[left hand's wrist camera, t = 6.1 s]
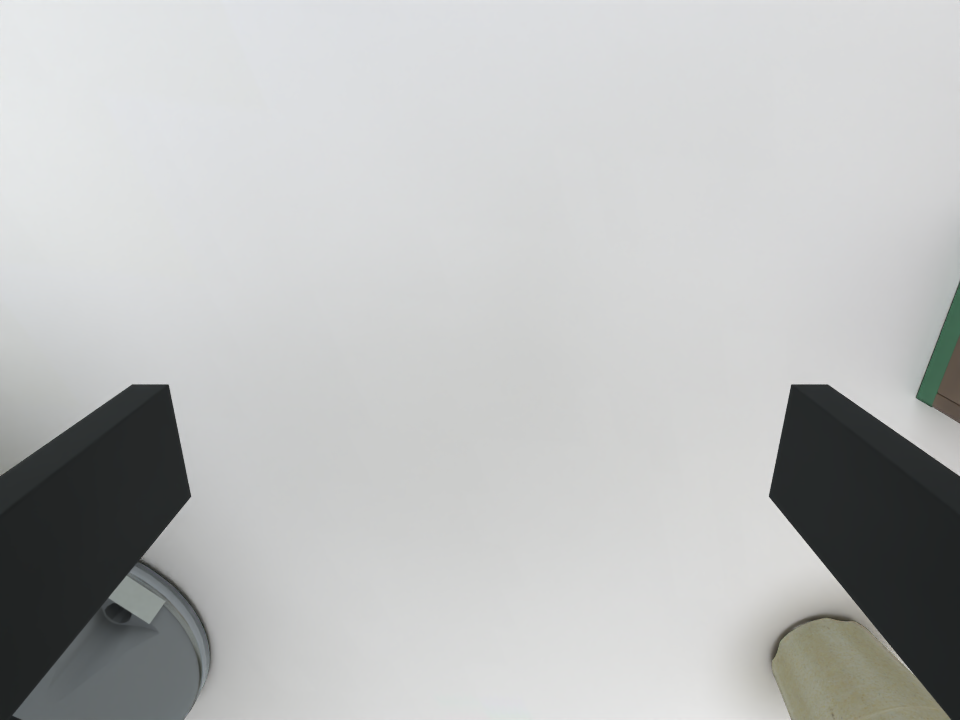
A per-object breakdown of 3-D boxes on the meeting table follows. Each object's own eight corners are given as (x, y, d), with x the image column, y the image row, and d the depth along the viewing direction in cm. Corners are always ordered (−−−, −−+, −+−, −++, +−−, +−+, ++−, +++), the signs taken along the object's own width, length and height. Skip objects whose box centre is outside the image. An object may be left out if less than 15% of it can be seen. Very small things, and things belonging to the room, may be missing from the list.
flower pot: (813, 568, 33) (918, 706, 25) (935, 630, 35) (1070, 778, 27) (712, 674, 36) (778, 828, 28) (829, 727, 38) (922, 886, 30)
